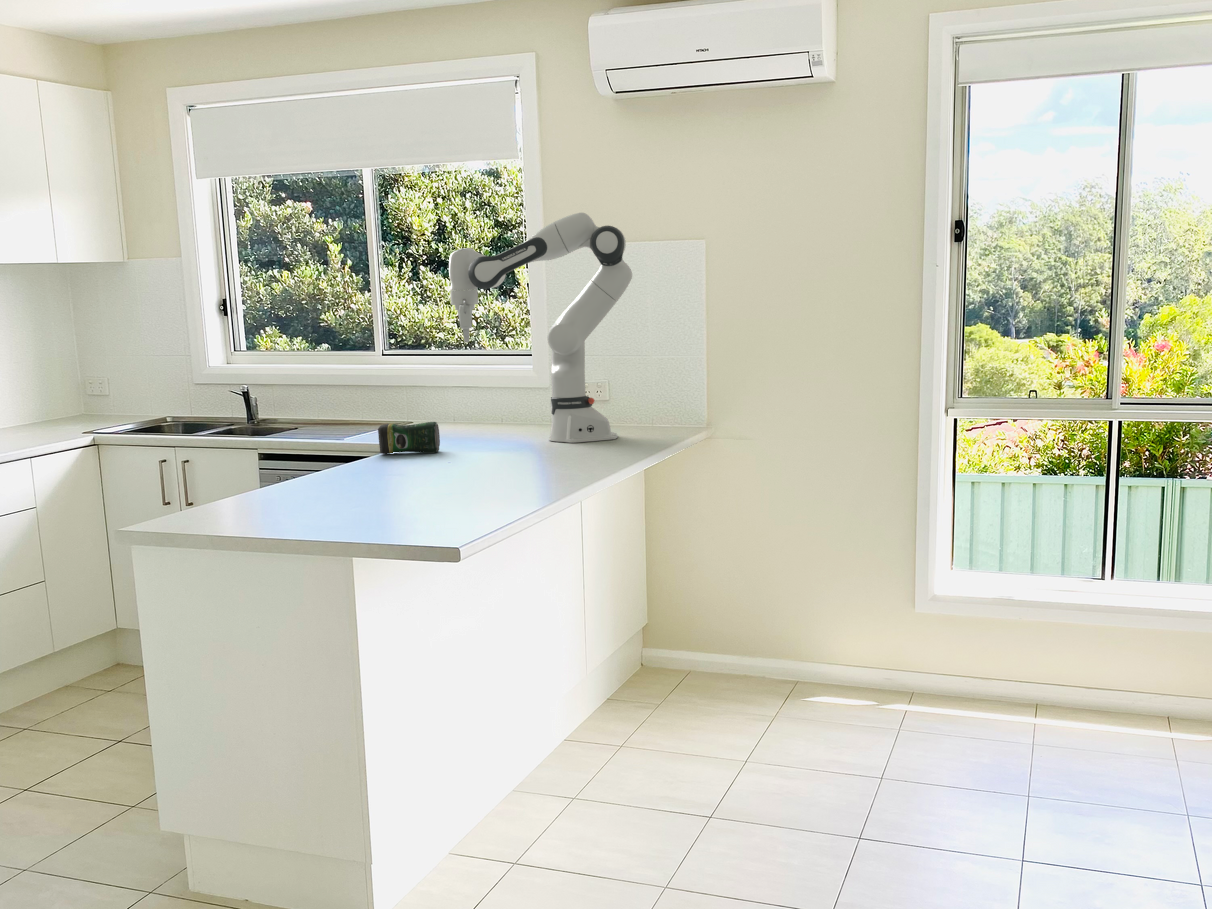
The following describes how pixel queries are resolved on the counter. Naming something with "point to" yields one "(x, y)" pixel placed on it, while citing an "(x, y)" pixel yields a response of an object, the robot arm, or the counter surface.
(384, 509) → the counter surface
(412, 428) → the coffee jar
